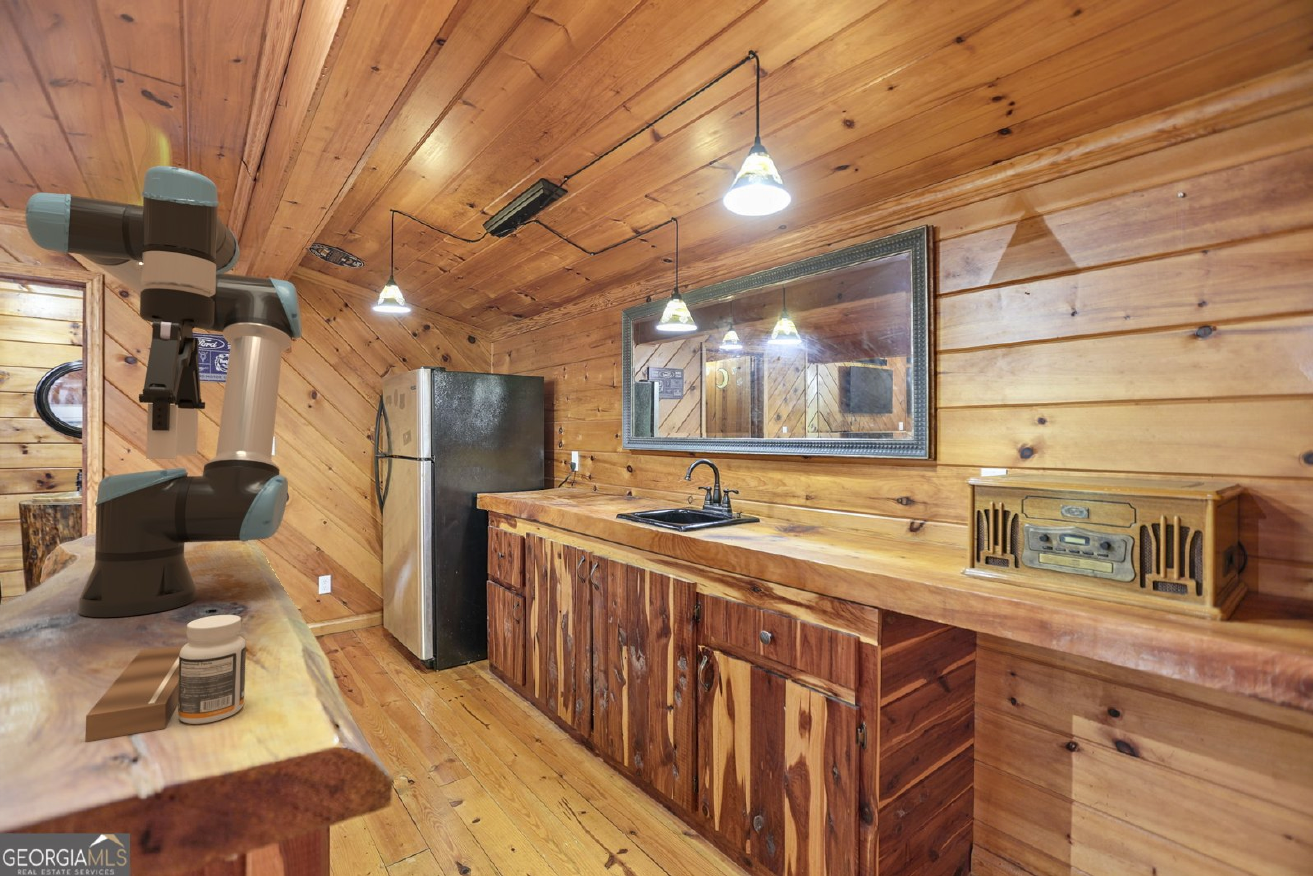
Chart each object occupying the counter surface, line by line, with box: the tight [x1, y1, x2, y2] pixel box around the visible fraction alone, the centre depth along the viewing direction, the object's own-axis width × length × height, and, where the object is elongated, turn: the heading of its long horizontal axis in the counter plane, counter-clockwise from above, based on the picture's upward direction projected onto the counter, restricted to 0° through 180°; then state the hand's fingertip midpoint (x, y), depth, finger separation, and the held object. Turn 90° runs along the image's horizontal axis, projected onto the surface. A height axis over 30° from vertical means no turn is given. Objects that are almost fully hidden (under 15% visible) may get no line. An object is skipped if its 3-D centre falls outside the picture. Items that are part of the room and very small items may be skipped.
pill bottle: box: [177, 614, 247, 725], centre depth 64 cm, size 6×6×10 cm
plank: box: [84, 645, 184, 743], centre depth 68 cm, size 20×6×3 cm, turn 29°
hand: (173, 457), depth 77 cm, fingers open, 13 cm apart
